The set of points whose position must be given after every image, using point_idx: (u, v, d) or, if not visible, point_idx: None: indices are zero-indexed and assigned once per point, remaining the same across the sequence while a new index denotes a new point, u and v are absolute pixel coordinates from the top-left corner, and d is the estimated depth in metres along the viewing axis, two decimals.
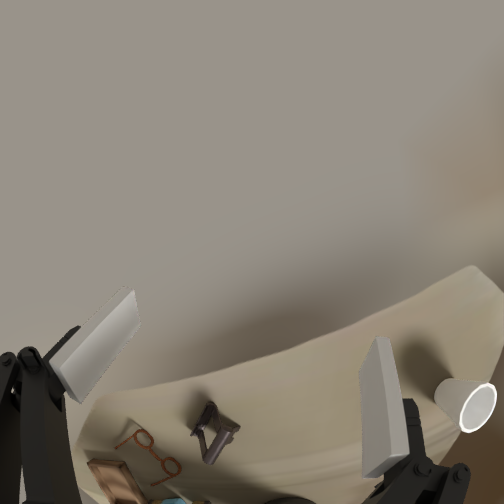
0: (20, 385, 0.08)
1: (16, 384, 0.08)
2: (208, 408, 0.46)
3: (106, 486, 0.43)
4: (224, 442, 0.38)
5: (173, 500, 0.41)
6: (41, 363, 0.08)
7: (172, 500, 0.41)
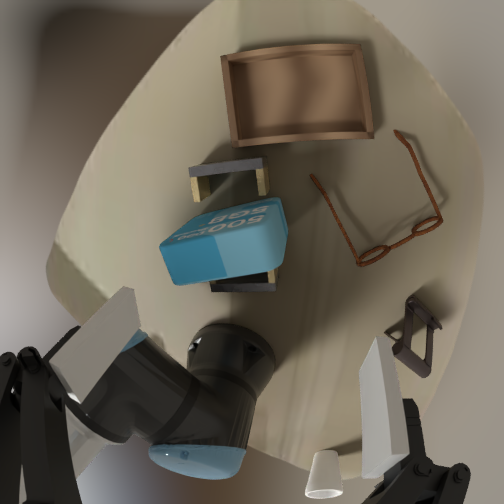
0: (20, 385, 0.08)
1: (16, 384, 0.08)
2: (435, 325, 0.36)
3: (285, 56, 0.26)
4: (415, 372, 0.32)
5: (286, 225, 0.33)
6: (41, 363, 0.08)
7: (285, 222, 0.33)
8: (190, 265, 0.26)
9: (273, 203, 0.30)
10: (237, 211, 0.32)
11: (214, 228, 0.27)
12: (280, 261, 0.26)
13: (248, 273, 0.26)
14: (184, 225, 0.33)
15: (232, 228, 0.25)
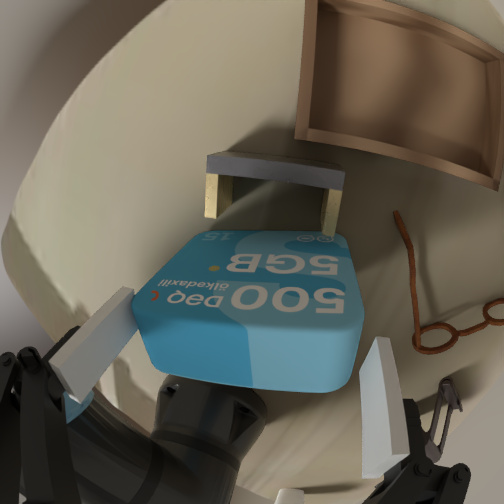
0: (20, 385, 0.08)
1: (16, 384, 0.08)
2: (456, 406, 0.25)
3: (405, 25, 0.12)
4: None
5: None
6: (41, 363, 0.08)
7: None
8: (185, 355, 0.13)
9: (343, 253, 0.17)
10: (278, 251, 0.18)
11: (243, 296, 0.14)
12: (350, 376, 0.13)
13: (292, 390, 0.13)
14: (181, 251, 0.19)
15: (287, 317, 0.12)
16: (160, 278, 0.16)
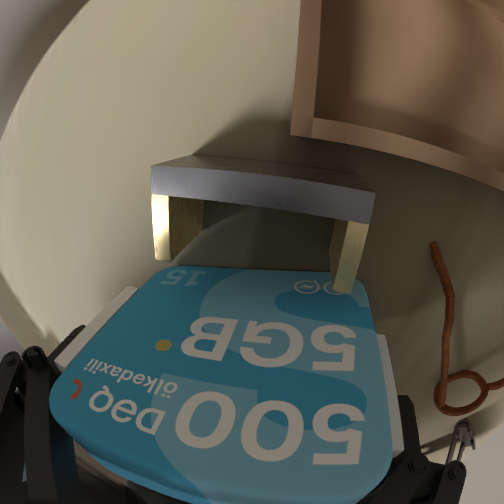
0: (25, 385, 0.08)
1: (20, 384, 0.08)
2: (469, 444, 0.19)
3: None
4: None
5: None
6: (46, 363, 0.08)
7: None
8: (124, 471, 0.07)
9: (363, 320, 0.11)
10: (264, 313, 0.12)
11: (196, 417, 0.07)
12: None
13: None
14: (129, 303, 0.13)
15: (261, 474, 0.05)
16: (90, 355, 0.09)
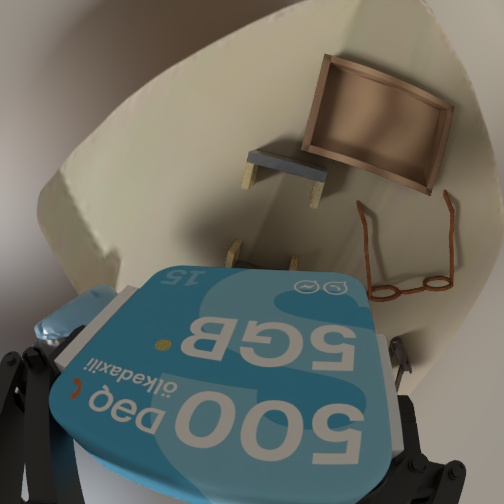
0: (25, 385, 0.08)
1: (21, 384, 0.08)
2: (406, 368, 0.39)
3: (383, 83, 0.24)
4: None
5: None
6: (46, 363, 0.08)
7: None
8: (124, 471, 0.07)
9: (363, 320, 0.11)
10: (264, 313, 0.12)
11: (195, 416, 0.07)
12: None
13: None
14: (129, 303, 0.13)
15: (261, 473, 0.05)
16: (89, 355, 0.09)
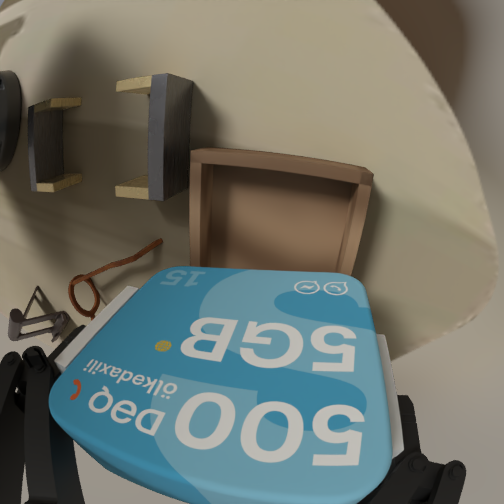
0: (25, 385, 0.08)
1: (21, 384, 0.08)
2: (54, 335, 0.35)
3: (337, 265, 0.20)
4: (8, 329, 0.28)
5: None
6: (46, 363, 0.08)
7: None
8: (123, 472, 0.07)
9: (363, 320, 0.11)
10: (264, 313, 0.12)
11: (195, 418, 0.07)
12: None
13: None
14: (128, 304, 0.13)
15: (261, 475, 0.05)
16: (89, 356, 0.09)
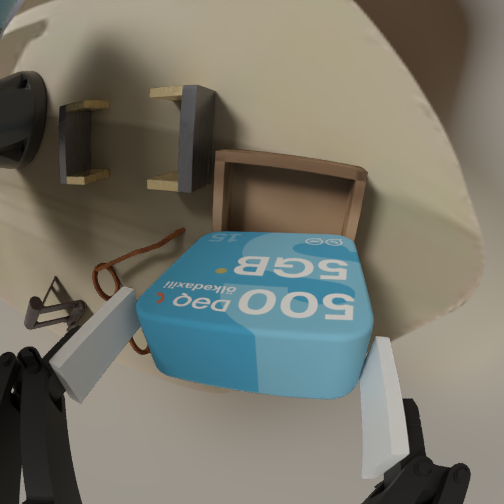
0: (20, 385, 0.08)
1: (16, 384, 0.08)
2: (69, 324, 0.39)
3: None
4: (25, 317, 0.31)
5: None
6: (41, 363, 0.08)
7: None
8: (190, 360, 0.13)
9: (352, 257, 0.17)
10: (286, 254, 0.18)
11: (251, 300, 0.13)
12: (356, 383, 0.12)
13: (298, 396, 0.12)
14: (187, 252, 0.19)
15: (295, 324, 0.11)
16: (166, 280, 0.16)
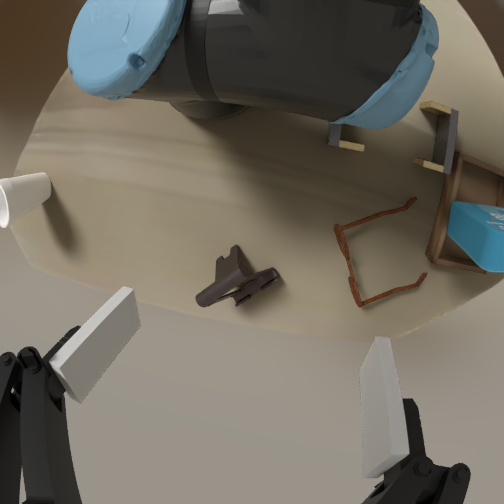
0: (20, 385, 0.08)
1: (16, 384, 0.08)
2: (239, 298, 0.44)
3: None
4: (207, 291, 0.37)
5: None
6: (41, 363, 0.08)
7: None
8: None
9: None
10: (500, 213, 0.24)
11: None
12: None
13: None
14: (465, 209, 0.25)
15: None
16: (483, 220, 0.21)
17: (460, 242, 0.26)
